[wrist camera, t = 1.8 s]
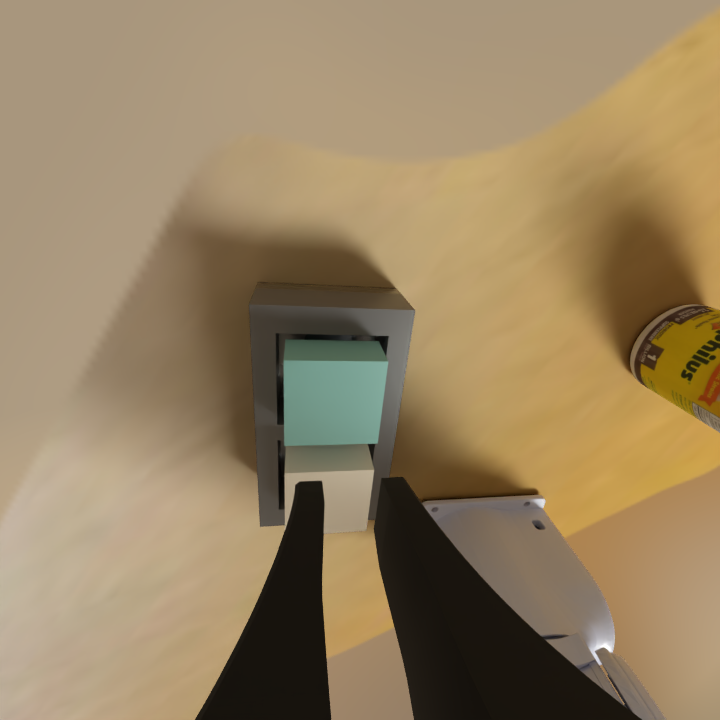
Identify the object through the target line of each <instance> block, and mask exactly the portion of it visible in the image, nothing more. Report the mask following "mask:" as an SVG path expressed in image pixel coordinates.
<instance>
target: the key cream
mask: <svg viewBox="0 0 720 720" xmlns="http://www.w3.org/2000/svg"><path fill="white" fill-rule="evenodd" d="M284 474H285V529H286V526H287V522H288V519H289V516H290V512H291V508H292V504H293V499H294V493H295V485H296V484H297V483H298V482H299V481H322V484H323V492H324V501H325V507H324V534H327V533H342V532H357V531H366V529H367V521H368V514H369V506H370V498H371V491H372V483H373V475H374V467H373V463H372V459H371V455H370V451H369V447H368V444H342V445H305V446H286V455H285V473H284Z"/></svg>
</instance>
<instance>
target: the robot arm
mask: <svg viewBox="0 0 720 720" xmlns="http://www.w3.org/2000/svg"><path fill="white" fill-rule="evenodd" d="M544 504H545V499H544V497H543V496H542V495H525V496H507V497H489V498H471V499H452V500H434V501H425V502H423V503H421V502H420V500H419V499H418V497H417V496H416V495H415V493H414V492H413V490H412V489H411V487H410V486H409V484H408V483H407V482H406V480H405V479H404V478H403V477H392V478H381V484H380V490H379V497H378V504H377V511H376V518H375V525H374V533H375V540H376V548H377V554H378V561H379V567H380V571H381V575H382V579H383V583H384V587H385V591H386V595H387V599H388V603H389V607H390V611H391V615H392V619H393V623H394V627H395V630H396V634H397V639H398V642H399V646H400V650H401V654H402V658H403V663H404V667H405V672H406V677H407V681H408V686H409V693H410V698H411V704H412V710H413V716H414V720H666V718H665V717H664V715H663V714H662V712H661V711H660V709H659V708H658V706H657V705H656V703H655V702H654V700H653V699H652V697H651V696H650V695H649V693H648V692H647V690H646V689H645V687H644V686H643V684H642V683H641V682H640V680H639V679H638V677H637V676H636V674H635V673H634V672H633V670H632V669H631V668H630V666H629V665H628V664H627V662H626V661H625V660H624V659H623V658H622V657H621V656H619V655H617V654H615V653H612V652H613V649H614V642H615V631H614V624H613V620H612V616H611V613H610V610H609V608H608V605H607V602H606V600H605V598H604V596H603V594H602V592H601V590H600V588H599V586H598V585H597V583H596V582H595V580H594V579H593V577H592V576H591V574H590V573H589V572H588V570H587V569H586V568H585V566H584V565H583V563H582V562H581V561H580V559H579V558H578V557H577V555H576V554H575V553H574V551H573V550H572V548H571V547H570V546H569V544H568V543H567V541H566V540H565V539H564V537H563V536H562V535H561V533H560V532H559V530H558V529H557V528H556V526H555V525H554V524H553V522H552V521H551V520H550V518H549V517H548V515H547V514H546V513H545V511H544V510H543V507H544ZM324 507H325V501H324V492H323V484H322V481H299V482H298V483H297V484H296V485H295V493H294V499H293V504H292V508H291V512H290V516H289V519H288V522H287V526H286V529H285V532H284V535H283V538H282V541H281V544H280V546H279V549H278V552H277V555H276V558H275V560H274V563H273V565H272V568H271V570H270V572H269V575H268V577H267V580H266V582H265V584H264V587H263V589H262V592H261V594H260V596H259V598H258V601H257V603H256V605H255V607H254V609H253V612H252V614H251V616H250V618H249V620H248V622H247V624H246V626H245V628H244V630H243V632H242V634H241V636H240V638H239V640H238V642H237V644H236V646H235V648H234V650H233V652H232V654H231V656H230V658H229V659H228V661H227V663H226V665H225V667H224V669H223V671H222V673H221V675H220V677H219V678H218V680H217V682H216V684H215V686H214V687H213V689H212V691H211V693H210V695H209V696H208V698H207V700H206V702H205V704H204V705H203V707H202V709H201V710H200V712H199V714H198V715H197V717H196V719H195V720H331V711H330V700H329V686H328V673H327V659H326V646H325V631H324V617H323V602H322V564H323V536H324ZM599 665H603V666H604V668H605V670H606V671H607V673H608V677H609V679H610V680H611V682H612V684H613V685H614V687H615V689H616V690H617V692H618V694H619V695H620V697H621V699H622V700H623V702H624V703H625V705H623V703H622V702H621V700H620V699H619V697H618V695H617V694H616V692H615V690H614V689H613V687H612V685H611V684H610V682H609V681H608V679H607V677H606V676H605V674H604V672H603V671H602V669H601V668H600V666H599Z"/></svg>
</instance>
